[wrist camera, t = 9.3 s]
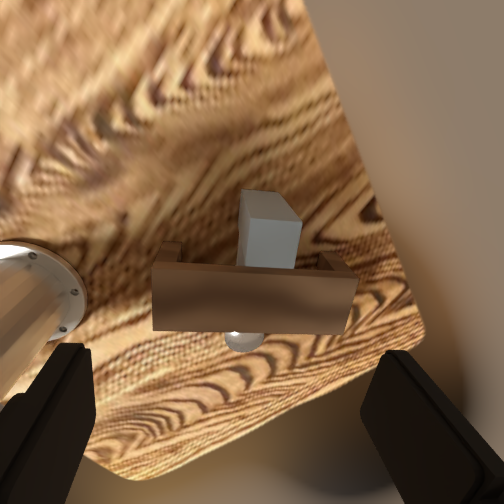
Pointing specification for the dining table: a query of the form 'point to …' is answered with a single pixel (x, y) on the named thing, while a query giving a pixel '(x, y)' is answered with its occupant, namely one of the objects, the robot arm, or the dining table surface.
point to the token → (243, 341)
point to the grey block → (267, 231)
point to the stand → (250, 296)
